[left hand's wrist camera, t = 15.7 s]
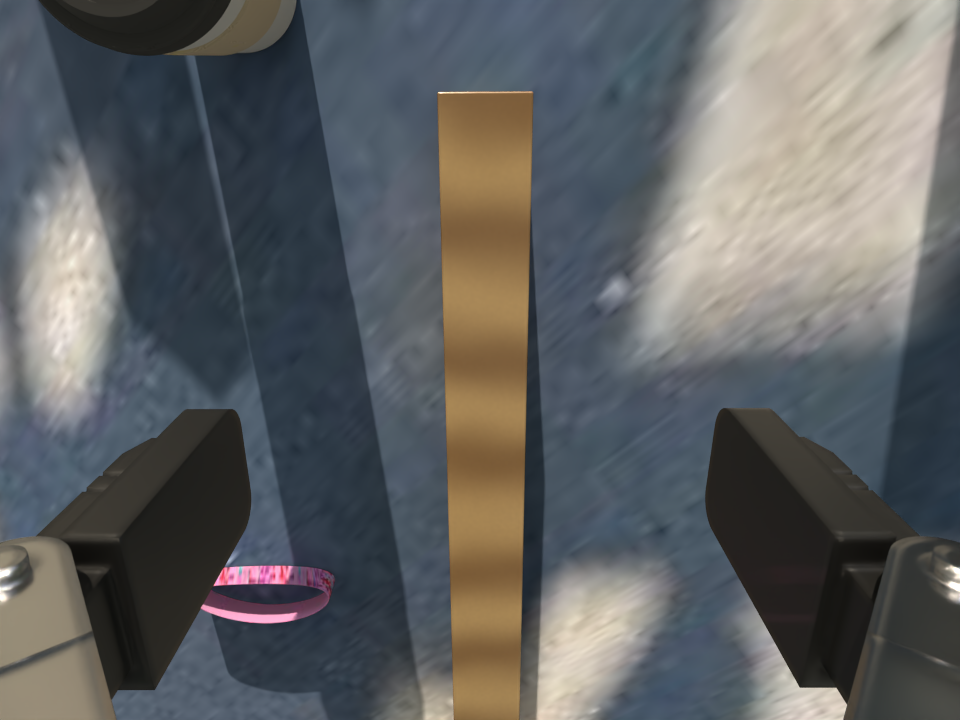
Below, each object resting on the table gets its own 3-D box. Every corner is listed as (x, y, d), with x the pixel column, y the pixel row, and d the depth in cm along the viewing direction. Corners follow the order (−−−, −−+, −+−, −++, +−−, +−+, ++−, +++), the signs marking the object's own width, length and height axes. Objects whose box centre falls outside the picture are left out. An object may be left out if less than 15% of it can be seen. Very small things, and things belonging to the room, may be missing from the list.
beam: (443, 95, 39) (437, 91, 33) (525, 94, 39) (533, 91, 33) (459, 787, 60) (457, 860, 55) (512, 787, 60) (516, 860, 55)
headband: (205, 606, 53) (193, 625, 51) (197, 565, 51) (185, 584, 49) (338, 604, 53) (332, 624, 51) (333, 564, 51) (327, 582, 49)
